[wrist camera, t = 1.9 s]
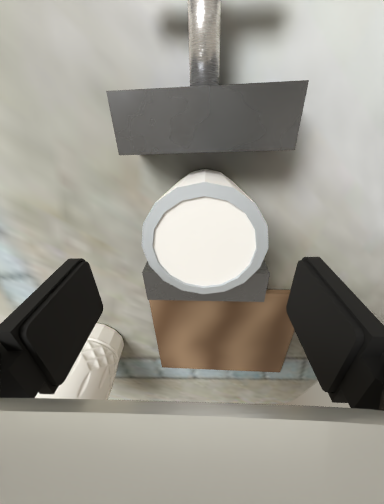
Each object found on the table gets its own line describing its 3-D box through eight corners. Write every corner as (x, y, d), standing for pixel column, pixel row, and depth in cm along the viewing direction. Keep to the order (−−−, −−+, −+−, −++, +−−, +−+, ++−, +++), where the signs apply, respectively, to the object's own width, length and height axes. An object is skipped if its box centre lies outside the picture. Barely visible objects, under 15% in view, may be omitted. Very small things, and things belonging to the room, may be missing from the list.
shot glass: (179, 144, 15) (161, 157, 9) (264, 181, 16) (298, 216, 10) (153, 225, 18) (128, 273, 12) (224, 252, 19) (231, 308, 13)
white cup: (132, 357, 29) (102, 453, 21) (78, 354, 30) (27, 446, 21) (123, 319, 25) (81, 419, 17) (60, 316, 26) (-13, 411, 17)
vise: (305, -37, 10) (345, -102, 7) (255, 276, 21) (264, 301, 18) (110, -19, 11) (74, -72, 8) (156, 275, 21) (147, 299, 18)
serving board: (304, 290, 21) (306, 294, 21) (278, 367, 28) (280, 372, 28) (148, 287, 22) (147, 291, 22) (162, 363, 30) (162, 367, 29)
